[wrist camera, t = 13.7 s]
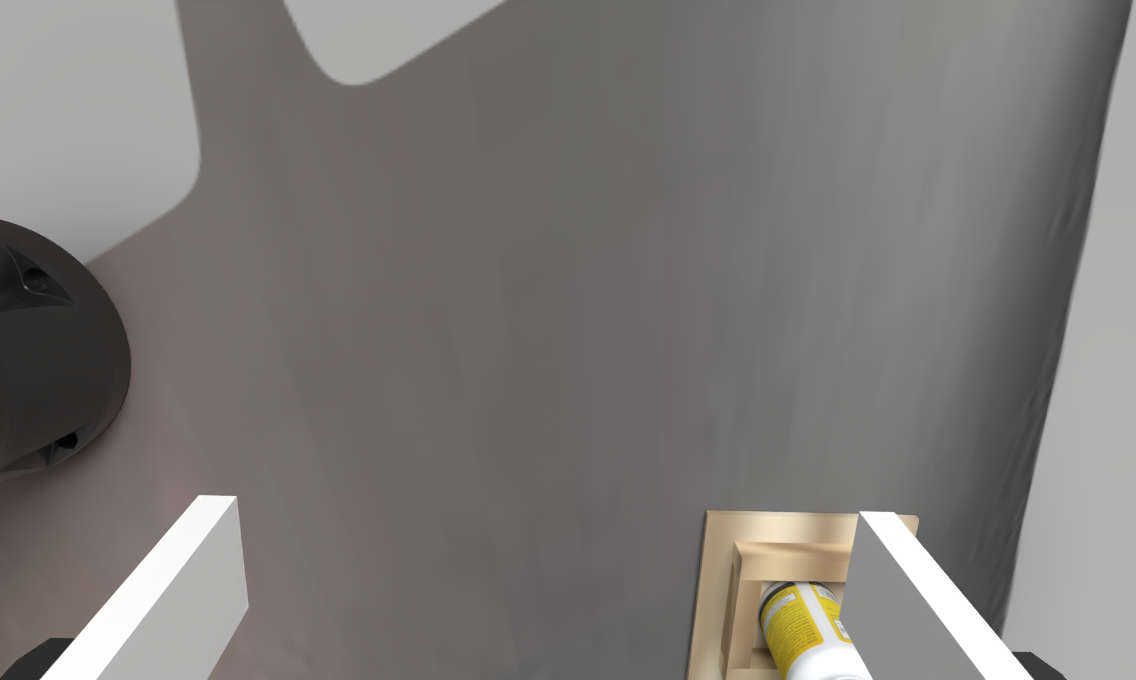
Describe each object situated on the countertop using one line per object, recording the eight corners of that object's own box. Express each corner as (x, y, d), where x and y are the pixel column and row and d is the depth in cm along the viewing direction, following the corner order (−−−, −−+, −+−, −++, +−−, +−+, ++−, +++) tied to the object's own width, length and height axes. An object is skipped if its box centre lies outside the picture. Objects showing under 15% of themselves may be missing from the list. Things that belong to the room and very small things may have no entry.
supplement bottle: (752, 640, 51) (799, 761, 42) (758, 573, 50) (808, 684, 40) (830, 637, 51) (893, 758, 42) (838, 571, 50) (906, 681, 40)
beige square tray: (685, 682, 53) (692, 709, 50) (706, 510, 48) (714, 531, 46) (878, 684, 53) (893, 712, 51) (915, 515, 49) (934, 536, 47)
